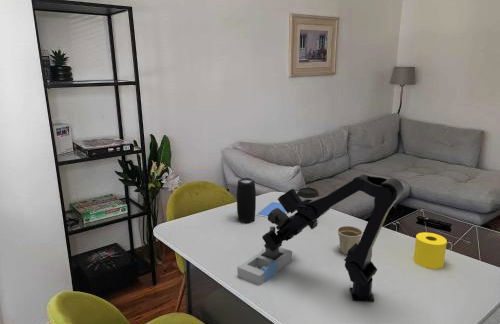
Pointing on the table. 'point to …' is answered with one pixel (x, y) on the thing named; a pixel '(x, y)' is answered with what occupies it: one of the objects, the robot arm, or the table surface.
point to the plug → (274, 254)
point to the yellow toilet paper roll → (430, 250)
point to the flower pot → (348, 237)
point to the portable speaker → (246, 200)
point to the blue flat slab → (270, 209)
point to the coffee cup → (307, 193)
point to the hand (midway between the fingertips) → (269, 244)
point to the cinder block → (263, 266)
